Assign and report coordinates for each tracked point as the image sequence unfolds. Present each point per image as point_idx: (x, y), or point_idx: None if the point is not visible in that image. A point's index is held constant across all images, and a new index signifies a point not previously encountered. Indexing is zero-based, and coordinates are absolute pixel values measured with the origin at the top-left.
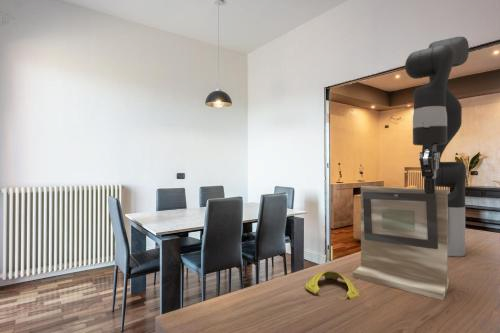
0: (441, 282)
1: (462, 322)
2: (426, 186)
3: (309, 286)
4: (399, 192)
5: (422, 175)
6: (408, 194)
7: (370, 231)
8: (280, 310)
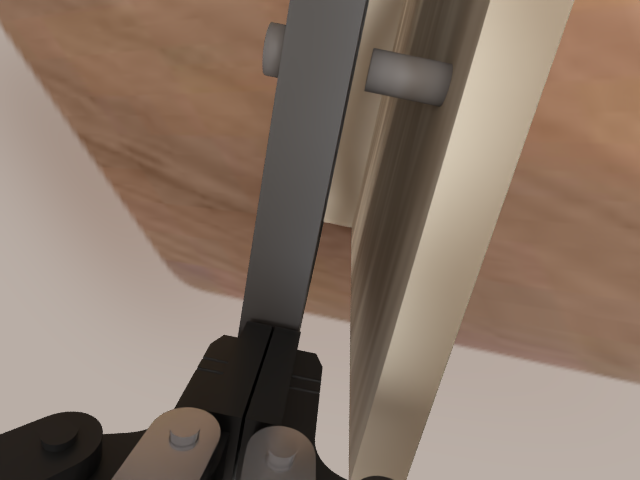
0: (354, 215)
1: (168, 231)
2: (201, 368)
3: None
4: (342, 83)
5: (41, 424)
6: (266, 176)
7: None
8: None
